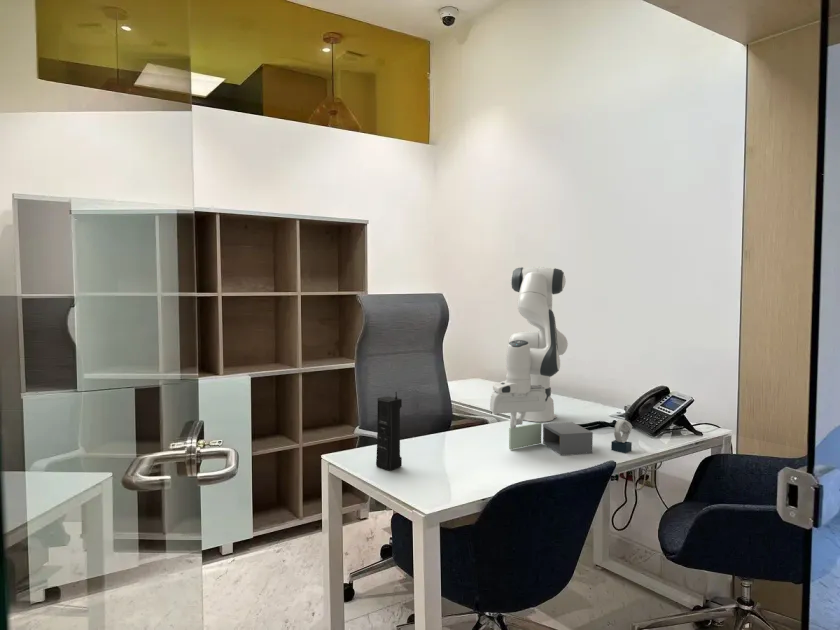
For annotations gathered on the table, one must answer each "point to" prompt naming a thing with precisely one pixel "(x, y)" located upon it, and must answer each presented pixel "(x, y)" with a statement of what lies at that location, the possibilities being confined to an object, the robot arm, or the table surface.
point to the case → (567, 438)
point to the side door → (524, 435)
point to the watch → (621, 442)
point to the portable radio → (388, 433)
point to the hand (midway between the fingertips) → (517, 424)
